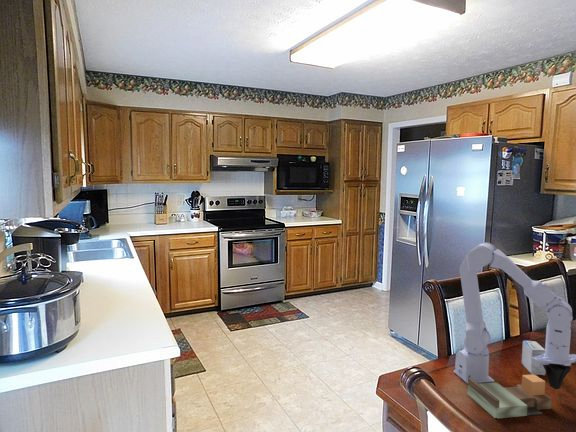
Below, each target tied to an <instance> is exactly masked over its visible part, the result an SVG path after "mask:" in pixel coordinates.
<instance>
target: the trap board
mask: <svg viewBox="0 0 576 432" xmlns="http://www.w3.org/2000/svg"><path fill="white" fill-rule="evenodd" d="M521 385H522V383H519V384H516V385H515V386H509V387H508V386H507V387H506V386H505V387H504V386H502V385H501V384H500V383H498V382H495V381H494V382H485V383H477V382H476V381H475V380H473V379H472V378H468V383H467V395H468V396H469V397H470V398H471V399H472V400H473V401H475V403H477V404H478V405H479V406H480V407H481V408H483V409H484V411H486V412H487V413H488V414H489V415H491V416H492V418H494V419H495V418H497V419H505V418H517V417H525V416H526V417H527V416H537V415H544V413H543V412H542V411H541V410H551V409H552V403H553V398H552V397H550V396H549V395H547V394H546V393H545V394H544V395H535V396H532V395H530V394H529V393H527V392H526V391H525V390H523V389H522V388H521Z"/></svg>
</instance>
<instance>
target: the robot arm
mask: <svg viewBox="0 0 576 432" xmlns="http://www.w3.org/2000/svg"><path fill="white" fill-rule="evenodd" d="M489 264H490V266H489V267H490V268H494V269H500V270H502V271H503V272H504V273H506V274H507V275H508V276H509V277H511V278H512V279H513V280H514V281H515V282H516V283H517V284H519V285H520V286H521V287H522V288H523V292H524V293H523V294H524V295H525V296H526V297H527V298H528V299H530V300H531V301H532V303H534V304H535V306H537V307H538V308H540V309H541V310H542V311H544V312H546V316H547V317H546V318H547V319H548V321H547V324H546V330H545V331H546V333H545V346H544V349H545V353H544V354H542V355H539V356H536V357H532V364H533V365H535V366H540V365H543V367H544V368H545V374H546V375H547V380H548V384H549V387H551V388H553V389H554V390H560V388H561V385H562V383H563V381H564V380H565V377H567V375H568V373H570V372H571V369H572V367H571V366H572V364H573V363H576V354H575V353H571V354H570V349H571V346H570V345H571V338H572V337H571V335H572V334H571V333H572V330H571V327H572V323H571V322H572V321H573V319H574V317H573V309H572V307H571V305H570V304H569V303H568V301H567V300H564V299H563V297H562V296H558V295H557V294H555V293H554V292H553V291H552V290H551V289H549V285H548V284H547V283H546V282H542V281H540V280H534V279H532V278H531V277H529V276H528V275H527V274H526V273H525V271H523V270H522V269H521V268H520V267H519V266H518V265H517V264H515V262H514V261H513V260H511V259H510V258H509V257H508V256H507V255H506V253H504V252H502V250H501V249H499V248H496V246H494V245H493V244H492V243H490V242H481V243H479V244H477V245H476V246H474V247H472V248H471V250H470V251H468V252H467V253H466V255H465V257H464V259H463V261H462V263H461V264H460V266H459V275H460V276H459V277H460V282H461V291H462V297H463V304H464V306H463V307H464V311H465V312H464V313H465V319H466V326H465V337H464V340H463V345H464V348H463V349H462V350H459V351H457V352H456V354H455V361H454V362H455V364H454V370H453V373H454V374H456V375H457V376H458V377H459V378H460V379H461V380H463V381H464V382H465V383H466V384H468V378H472V379H473V380H475V381H476V382H477V383H478V384H481V383H494V382H495V379H493V378H492V377H490V376H489V364H490V350H489V348H488V344H489V343H490V341H491V334H490V332H489V331H488V329H487V326H486V325H487V324H486V323H485V321H484V316H483V315H484V314H483V309H482V307H483V306H482V301H481V294H480V288H479V279H478V272H479V271H480V270H481V269H482V268H483V267H486V266H488V265H489Z"/></svg>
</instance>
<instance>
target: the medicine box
mask: <svg viewBox="0 0 576 432" xmlns="http://www.w3.org/2000/svg"><path fill="white" fill-rule="evenodd" d="M521 351H522V352H521V365H523V367H524V368H525V369H526V370H527V371H528V372H529V373H530V375H532V374H534V375H536V376H546V371H545V368H544V367H543V365H540V366H535V365H533V364H532V357H536V356H539V355H542V354H544V353H545V347H543V346H541V345H540V344H539V343H538V342H537V341H533V340H523V341H522V349H521Z"/></svg>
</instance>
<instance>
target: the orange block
mask: <svg viewBox="0 0 576 432" xmlns="http://www.w3.org/2000/svg"><path fill="white" fill-rule="evenodd" d="M521 384H522V385H521V388H522V389H523V390H525V391H526V392H527V393H529V394H530V395H532V396H535V395H544V394H546V380H545V379H542V378H540V377H539V375H534V374H522V375H521Z"/></svg>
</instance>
